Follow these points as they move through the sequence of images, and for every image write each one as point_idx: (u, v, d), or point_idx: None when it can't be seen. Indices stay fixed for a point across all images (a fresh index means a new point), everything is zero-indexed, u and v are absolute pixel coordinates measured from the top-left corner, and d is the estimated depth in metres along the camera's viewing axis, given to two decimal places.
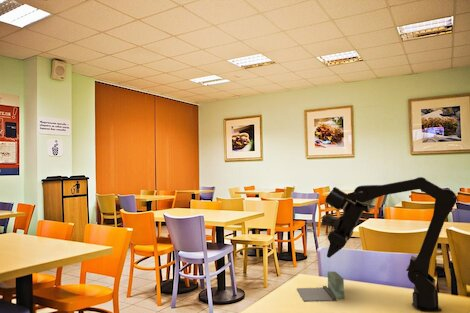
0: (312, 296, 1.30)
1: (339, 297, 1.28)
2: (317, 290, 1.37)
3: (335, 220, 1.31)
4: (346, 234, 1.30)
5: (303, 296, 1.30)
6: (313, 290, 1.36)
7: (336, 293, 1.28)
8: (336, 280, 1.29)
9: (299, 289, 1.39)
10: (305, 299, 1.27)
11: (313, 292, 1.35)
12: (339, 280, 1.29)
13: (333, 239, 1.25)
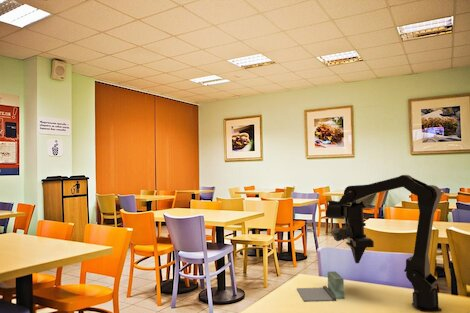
0: (312, 296, 1.30)
1: (339, 297, 1.28)
2: (317, 290, 1.37)
3: (347, 229, 1.32)
4: (362, 236, 1.32)
5: (303, 296, 1.30)
6: (313, 290, 1.36)
7: (336, 293, 1.28)
8: (336, 280, 1.29)
9: (299, 289, 1.39)
10: (305, 299, 1.27)
11: (313, 292, 1.35)
12: (339, 280, 1.29)
13: (362, 245, 1.25)
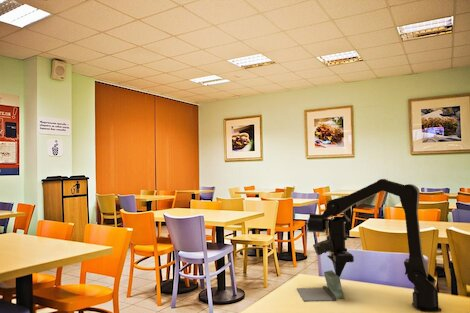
0: (312, 296, 1.30)
1: (339, 296, 1.28)
2: (317, 290, 1.37)
3: (328, 243, 1.32)
4: (343, 250, 1.32)
5: (303, 296, 1.30)
6: (313, 290, 1.36)
7: (335, 293, 1.28)
8: (332, 280, 1.29)
9: (299, 289, 1.39)
10: (305, 299, 1.27)
11: (313, 292, 1.35)
12: (335, 279, 1.29)
13: (342, 260, 1.25)
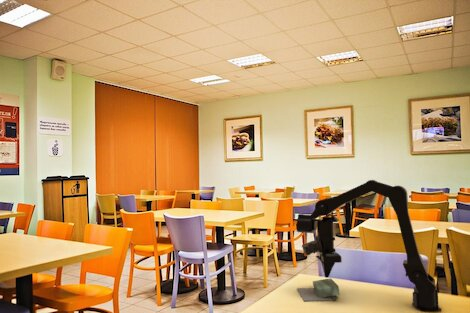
0: (312, 296, 1.30)
1: (337, 290, 1.28)
2: None
3: (316, 244, 1.32)
4: (332, 250, 1.32)
5: (303, 296, 1.30)
6: (313, 290, 1.36)
7: (334, 294, 1.28)
8: (321, 296, 1.28)
9: (299, 289, 1.39)
10: (305, 299, 1.27)
11: (313, 292, 1.35)
12: (321, 293, 1.28)
13: (330, 261, 1.25)
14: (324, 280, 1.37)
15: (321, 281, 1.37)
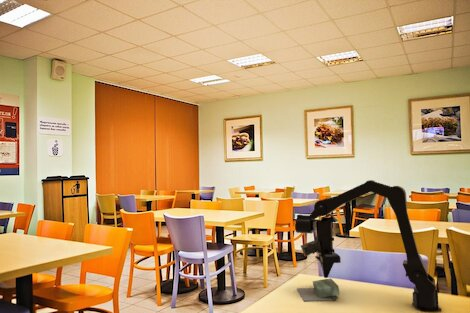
0: (312, 296, 1.30)
1: (337, 290, 1.28)
2: None
3: (315, 244, 1.32)
4: (331, 251, 1.32)
5: (303, 296, 1.30)
6: (313, 290, 1.36)
7: (334, 294, 1.28)
8: (321, 296, 1.28)
9: (299, 289, 1.39)
10: (305, 299, 1.27)
11: (313, 292, 1.35)
12: (321, 293, 1.28)
13: (329, 261, 1.25)
14: (324, 280, 1.37)
15: (321, 281, 1.37)
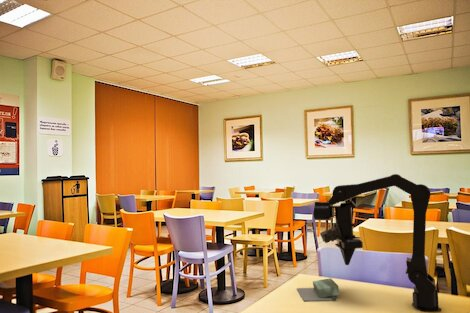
0: (312, 296, 1.30)
1: (337, 290, 1.28)
2: None
3: (335, 230, 1.29)
4: (351, 237, 1.29)
5: (303, 296, 1.30)
6: (313, 290, 1.36)
7: (334, 294, 1.28)
8: (321, 296, 1.28)
9: (299, 289, 1.39)
10: (305, 299, 1.27)
11: (313, 292, 1.35)
12: (321, 293, 1.28)
13: (351, 246, 1.22)
14: (324, 280, 1.37)
15: (321, 281, 1.37)
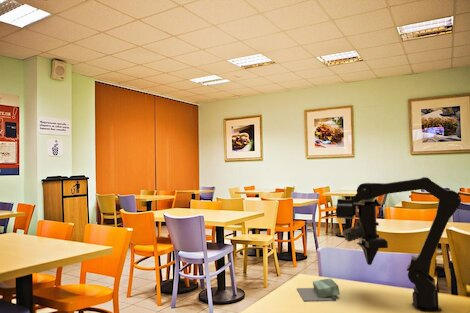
0: (312, 296, 1.30)
1: (337, 290, 1.28)
2: None
3: (359, 229, 1.26)
4: (375, 236, 1.25)
5: (303, 296, 1.30)
6: (313, 290, 1.36)
7: (334, 294, 1.28)
8: (321, 296, 1.28)
9: (299, 289, 1.39)
10: (305, 299, 1.27)
11: (313, 292, 1.35)
12: (321, 293, 1.28)
13: (376, 246, 1.18)
14: (324, 280, 1.37)
15: (321, 281, 1.37)
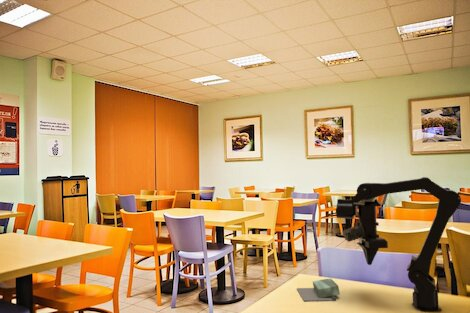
0: (312, 296, 1.30)
1: (337, 290, 1.28)
2: None
3: (359, 229, 1.26)
4: (375, 236, 1.25)
5: (303, 296, 1.30)
6: (313, 290, 1.36)
7: (334, 294, 1.28)
8: (321, 296, 1.28)
9: (299, 289, 1.39)
10: (305, 299, 1.27)
11: (313, 292, 1.35)
12: (321, 293, 1.28)
13: (376, 246, 1.18)
14: (324, 280, 1.37)
15: (321, 281, 1.37)
